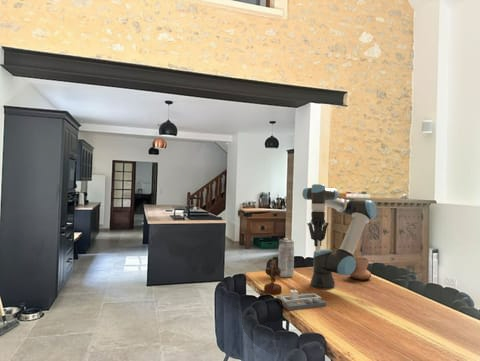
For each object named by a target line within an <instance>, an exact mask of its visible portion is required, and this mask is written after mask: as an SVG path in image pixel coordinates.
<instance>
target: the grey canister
mask: <svg viewBox="0 0 480 361" xmlns="http://www.w3.org/2000/svg"><path fill="white" fill-rule="evenodd" d="M294 245H295V243H294V241H293V239H288V237H284V238H283V239H279V240H278V255H277V256H278V257H277V258H278V264H277V267H278V268H280V270H281V273H280V275H279V276H280V278H293V276H294V272H295V271H294V270H295V269H294V268H295V261H294V260H295V246H294Z"/></svg>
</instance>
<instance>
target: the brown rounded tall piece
mask: <svg viewBox="0 0 480 361" xmlns="http://www.w3.org/2000/svg"><path fill="white" fill-rule="evenodd" d="M276 265H277V260H276V259H274V258H273V259H272V260H271V261H270V263H269V266H268V267H266V268H265V273H266V275H268V276H269V277H270V279H269V280H270V283H266V284H265V285H264V288H263V292H264V293H265V294H267V295H274V296H275V295H276V296H278V295H280V294H282V289H283V288H282V285H281V284H279V283H275V282H276V278H275V277H277V276H280V273H281V270H280V268H278V266H276Z"/></svg>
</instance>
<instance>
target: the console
mask: <svg viewBox="0 0 480 361" xmlns="http://www.w3.org/2000/svg"><path fill="white" fill-rule="evenodd" d="M276 298H277V299H280V300H281V301H282V303H283V305H282V306H283V307H284V308H285V309H287V310H288V311H296V310H305V309H311V308H312V309H313V308H321V307H326V306H327V301H326V300H323V299H322V297H321V296H320V295H318V294H316V293H315V292H314V293H313V292H304V293H298V299H292V300H291V299H290V294H286V295H285V294H284V295H276V296H275V299H276Z"/></svg>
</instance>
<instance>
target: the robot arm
mask: <svg viewBox="0 0 480 361" xmlns="http://www.w3.org/2000/svg"><path fill="white" fill-rule="evenodd" d="M339 195H340V194H339V191H338V189H337V188H334V187H326V186H325V184H324V183H323V184H322V183H320V184H318V183H317V184H316V183H313V184H312V185H311V187H305V188H304V189H303V190H302V198H303V199H304V200H309V201H311V214H310V215H311V220H310V222H307V226H308V231H309V235H310V239H311V240H312V241H314V245H313V246H314V247H315V250H314V252H313V265H312V266H313V268H312V269H313V272H312V276H311V280H310V286H311V287H312V288H315V289H319V290H331V289H334V288H335V287H336V286H335V284H336V283H335V280H334V277H333V273H334V274H338V275H340V276H350V274H352V273H353V271H354V270H355V267H356V265H355V264H356V261H355V259H354V258H355V257H356V256H355V255H354V253H355V251H356V248H357V246H358V244H359V241H360V238H361V236H362V234H363V231H364V229H365V227H366V225H367V224H369V223H370V221H371V219H375V218H376V216H377V213H378V212H377V211H378V210H377V205H376V202H374V201H373V200H370V199H369V200H368V199H365V200H364V199H345V198H343V197H342V198H339ZM325 207H329V208H332V209H335V211H336V212H338V213H341V214H343V215H346V216H349V217H351V218H352V219H351V222H350V224H349V226H348V228H347V230H346V233H345V236H344V238H343V240H342V243H341V245H340V247H339V248H337V249H336V250H335V252H334V253H333V250H332V249H321V247H322V242H323V240H325V238H326V233H327V229H328V227H329V223H328V222H326V220H325V215H326V213H325V211H326V208H325Z"/></svg>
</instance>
